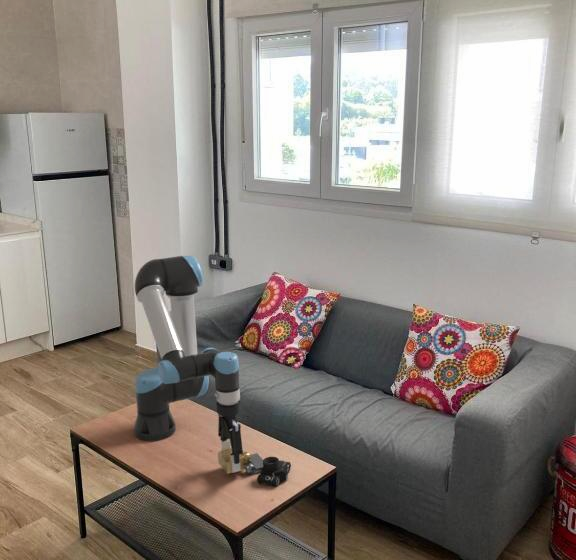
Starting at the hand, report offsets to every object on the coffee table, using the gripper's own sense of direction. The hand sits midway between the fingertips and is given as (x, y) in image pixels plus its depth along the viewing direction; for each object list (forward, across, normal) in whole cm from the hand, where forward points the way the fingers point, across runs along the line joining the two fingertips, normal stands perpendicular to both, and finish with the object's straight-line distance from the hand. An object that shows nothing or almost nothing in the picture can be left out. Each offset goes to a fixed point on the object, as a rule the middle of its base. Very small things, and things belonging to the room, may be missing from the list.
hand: (231, 464), depth 210 cm
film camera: (+3, +9, +12) cm, 15 cm away
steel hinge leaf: (+3, 0, +8) cm, 8 cm away
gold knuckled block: (0, 0, +2) cm, 2 cm away
